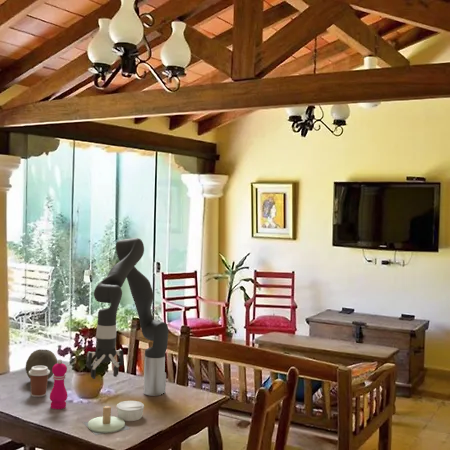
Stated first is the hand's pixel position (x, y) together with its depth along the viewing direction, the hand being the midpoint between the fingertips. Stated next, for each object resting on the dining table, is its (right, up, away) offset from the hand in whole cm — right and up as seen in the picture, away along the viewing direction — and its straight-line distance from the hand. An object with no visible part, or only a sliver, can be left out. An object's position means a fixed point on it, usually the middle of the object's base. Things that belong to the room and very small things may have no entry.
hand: (104, 377), depth 234 cm
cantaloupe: (-40, -15, +52) cm, 68 cm away
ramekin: (+8, -19, +11) cm, 24 cm away
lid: (+1, -19, 0) cm, 19 cm away
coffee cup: (-36, -16, +34) cm, 52 cm away
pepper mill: (-23, -17, +19) cm, 35 cm away
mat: (+1, -19, 0) cm, 19 cm away
